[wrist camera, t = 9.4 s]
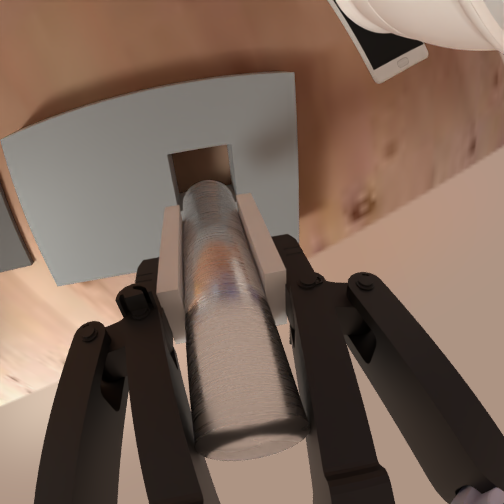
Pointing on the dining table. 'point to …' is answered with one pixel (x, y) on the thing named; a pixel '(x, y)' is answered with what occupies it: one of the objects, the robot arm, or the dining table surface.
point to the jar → (434, 21)
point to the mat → (11, 240)
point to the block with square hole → (150, 167)
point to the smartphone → (382, 48)
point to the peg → (232, 339)
